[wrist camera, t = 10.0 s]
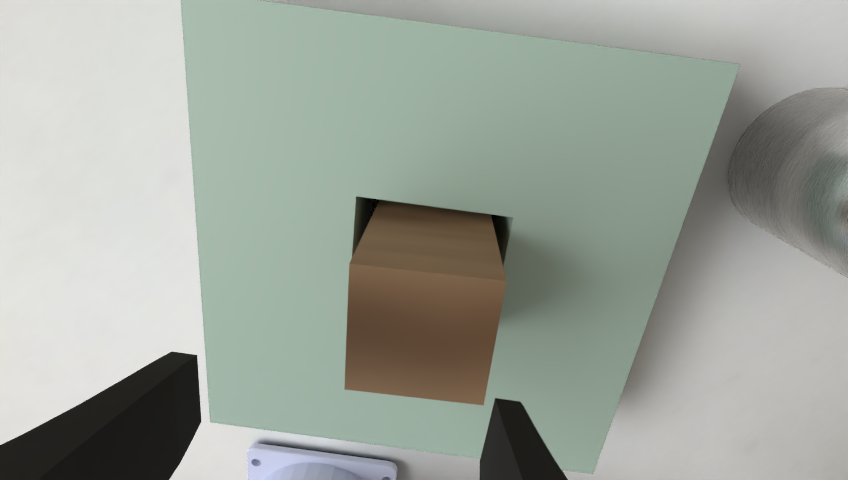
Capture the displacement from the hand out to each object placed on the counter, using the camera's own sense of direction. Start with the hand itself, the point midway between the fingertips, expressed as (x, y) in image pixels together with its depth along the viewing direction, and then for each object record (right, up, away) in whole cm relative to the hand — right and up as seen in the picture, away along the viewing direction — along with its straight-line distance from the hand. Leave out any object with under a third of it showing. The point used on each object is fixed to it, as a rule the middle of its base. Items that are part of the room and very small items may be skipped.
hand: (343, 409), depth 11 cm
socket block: (+2, +4, +9) cm, 10 cm away
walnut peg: (+2, +5, +9) cm, 10 cm away
